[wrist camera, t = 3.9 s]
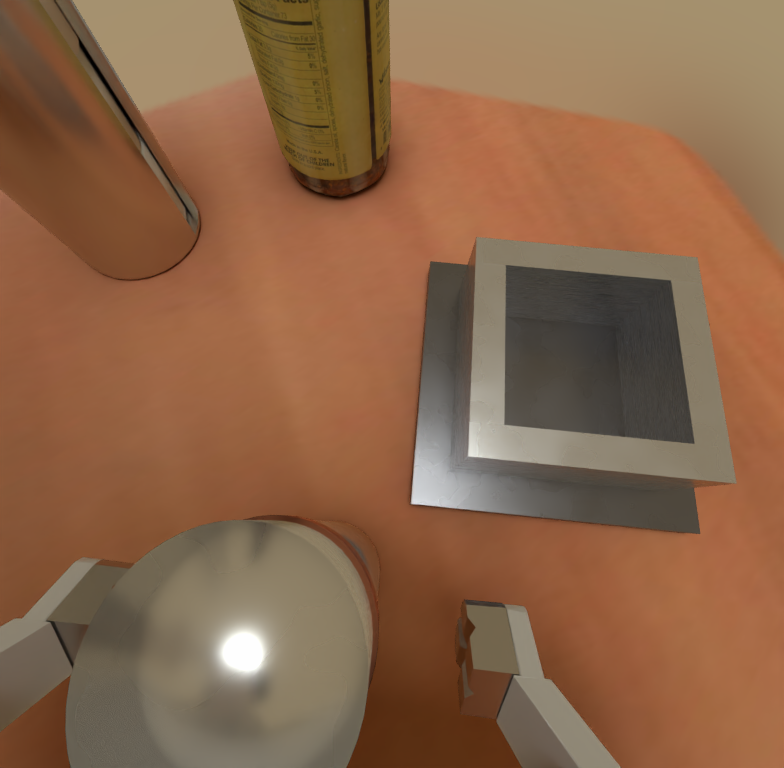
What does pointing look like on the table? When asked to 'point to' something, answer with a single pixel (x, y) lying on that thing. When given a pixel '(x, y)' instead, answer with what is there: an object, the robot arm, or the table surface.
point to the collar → (569, 387)
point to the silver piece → (85, 147)
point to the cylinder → (231, 651)
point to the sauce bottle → (325, 86)
